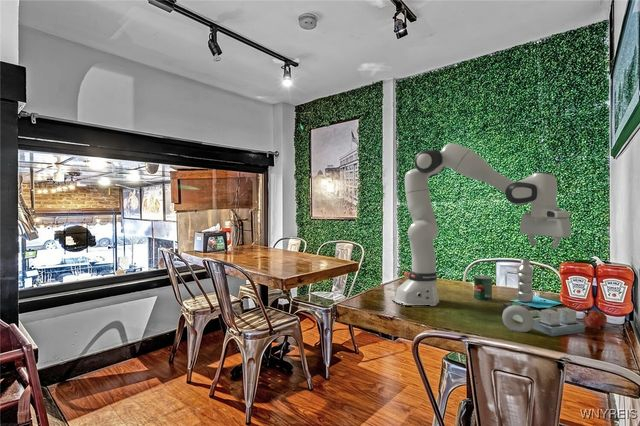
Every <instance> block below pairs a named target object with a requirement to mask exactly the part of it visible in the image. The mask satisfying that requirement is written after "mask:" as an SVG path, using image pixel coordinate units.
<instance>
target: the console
mask: <svg viewBox="0 0 640 426" xmlns="http://www.w3.org/2000/svg"><path fill="white" fill-rule="evenodd" d="M513 302H514V301H512V302H511V301H510V302H504V303H502V311H504V310H505V309H506V308H507V307H509V306H512V303H513ZM515 302H516V303H520V304H521V306H522V307H524V308H526V309H527V310H528V311H531V306H530V305H528V304H523V303H521V302H518V301H515Z"/></svg>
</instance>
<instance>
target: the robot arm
mask: <svg viewBox="0 0 640 426" xmlns="http://www.w3.org/2000/svg"><path fill="white" fill-rule="evenodd" d="M413 162H414V167H415V168H412V169H410V170H408V171H406V173H405V175H404V191H405V199H406V205H407V211H408V212H409V214H410V217H411V219H412V223H411V224H410V225H409V227H408V229H407V237H408V239H409V240H408V241H409V246H410V251H411V252H410V254H411V271H410V272H409V271H404V273H403V275H404V276H407V277H408V278H407V279H405V281H404V282H403V283H402V284H400V285H399V286H398V287H397V288H396V293H395V295H394V296H392V297H391V298H392V300H394V301H395V302H397V303H400V304H401V303H403V305H430V306H429V307H435V306H438V305H437V304H439V303H440V299H439V296H438V291H437V277H438V276H437V269H436V267H437V266H436V265H437V264H436V263H437V259H436V257H437V255H436V253H435V246H434V240H435V239H436V238H437V237H438V234H439V226H438V223H437V220H436V215H435V212H434V209H433V205H432V199H431V194H430V188H429V187H430V186H429V179H431V178H433V177H434V176H436V175H439V174H440V173H441V172H442V171H444V169H445V167H446V168H449V169H451V170H453V171H454V172H456V173H458V174H460V175H462V176H464V177H467V178H470V179H473V180H477V181H480V182H483V183H486V184H488V185H489V186H491V187H493V188H495V189H497V190H498V191H500V192H502V193H503V194H504V196H505V198H506V200H507V201H508V202H509V203H511V204H513V205H516V206H526V205H528V204H529V203H530V212H528V211H526V212H524V213H523V214H522V215H521V219H520V223H519V224H520V225H519V232H520V234H522V235H527V238H528V241H529V243H530V244H529V245H530V246H534V247H536V246H537V241H536V240H535V236H542V237H543V236H544V237H552V239H553V241H552V243H550V248H551V249H558V247H559V244H560V242H561V240H562V238H565V239H566V238H567V239H568V238H570V237H571V234H572V225H571V220H570V219H569V218H570V216H571V213H570V212H569V211H567V210H564V209H561V208H558V203H557V196H558V181H557V177H556V176H555V175H554V174H552V173H550V172H543V171H542V172H540V171H538V172H537V171H536V172H534V173H532V174H531V175H529V176H527V177H525V178H523V179H519V180H517V181H515V180H512V179H510V178H508V177H507V176H505V175H503V174H501V173H500V172H498V171H496V170H495V169H494V168H493V167H491V166H490V165H489V163H488V162H487V161H486V160H485V159H484V158H483V157H481V156H480V155H479V154H478V153H476V152H474V151H473V150H472V149H469V148H467V147H465V146H464V145H460V144H458V143H455V142H449V143H447V144H446V145H444V146H443V147H442V148H441V150H438V149H425V150H422V151H419V152H418V153H417V154H416V155H415V156H414V161H413ZM392 300H391V301H392Z"/></svg>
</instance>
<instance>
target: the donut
mask: <svg viewBox="0 0 640 426" xmlns="http://www.w3.org/2000/svg"><path fill="white" fill-rule="evenodd" d="M502 311H503V310H502ZM514 315H520V316H521V317H522V318H523V322H519V323H518V322H515V320H514V319H512V318H513V316H514ZM501 317H502V323H503V324H504V326H505V327H506V328H507V329H508V330H510V331H511V332H518V333H528V332H529V331H531V330H532V329H533V324H534V319H535V318H534V317H533V316H532V314H531V313H530V312H529V311H528V310H527V309H526V308H524V307H522V306H519V305H512V306H509V307H507V308H506V309H505V310H504V311H503V312H502V316H501Z"/></svg>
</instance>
